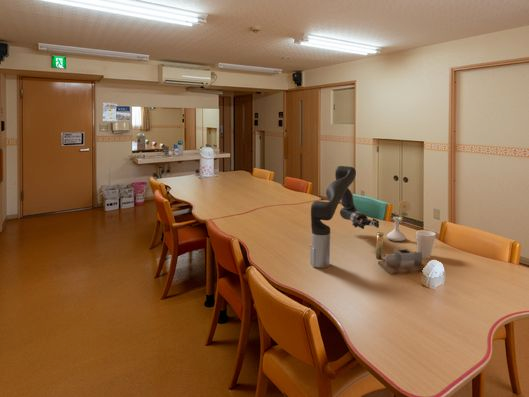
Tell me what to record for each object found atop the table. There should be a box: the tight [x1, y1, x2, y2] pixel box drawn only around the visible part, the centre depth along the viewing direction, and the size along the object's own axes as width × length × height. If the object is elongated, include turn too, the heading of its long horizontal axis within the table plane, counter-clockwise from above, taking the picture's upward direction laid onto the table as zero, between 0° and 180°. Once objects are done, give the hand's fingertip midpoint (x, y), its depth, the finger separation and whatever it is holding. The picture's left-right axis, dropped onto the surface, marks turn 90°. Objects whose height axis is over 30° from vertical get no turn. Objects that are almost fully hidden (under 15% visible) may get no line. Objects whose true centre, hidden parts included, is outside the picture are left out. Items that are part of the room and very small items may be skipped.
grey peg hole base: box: [377, 260, 426, 276], centre depth 182 cm, size 20×14×2 cm
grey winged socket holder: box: [384, 248, 423, 268], centre depth 181 cm, size 19×7×7 cm, turn 99°
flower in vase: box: [386, 199, 412, 242], centre depth 221 cm, size 13×11×25 cm
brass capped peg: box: [375, 231, 385, 260], centre depth 193 cm, size 4×4×14 cm
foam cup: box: [415, 229, 437, 259], centre depth 195 cm, size 10×9×13 cm
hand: (370, 226), depth 202 cm, fingers open, 8 cm apart
